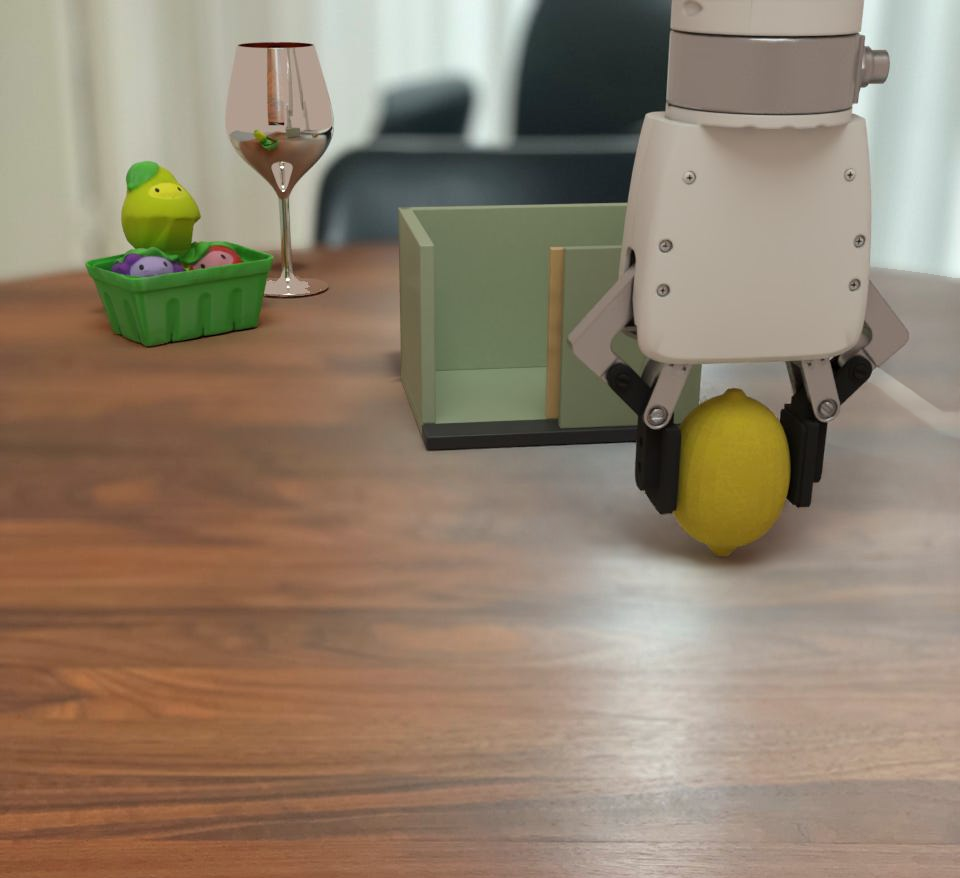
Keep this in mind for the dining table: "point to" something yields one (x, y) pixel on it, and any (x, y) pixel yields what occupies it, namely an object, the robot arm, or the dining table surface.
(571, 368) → the cupboard
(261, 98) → the wineglass
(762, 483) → the lemon
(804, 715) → the dining table surface
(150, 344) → the fruit basket
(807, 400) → the robot arm
